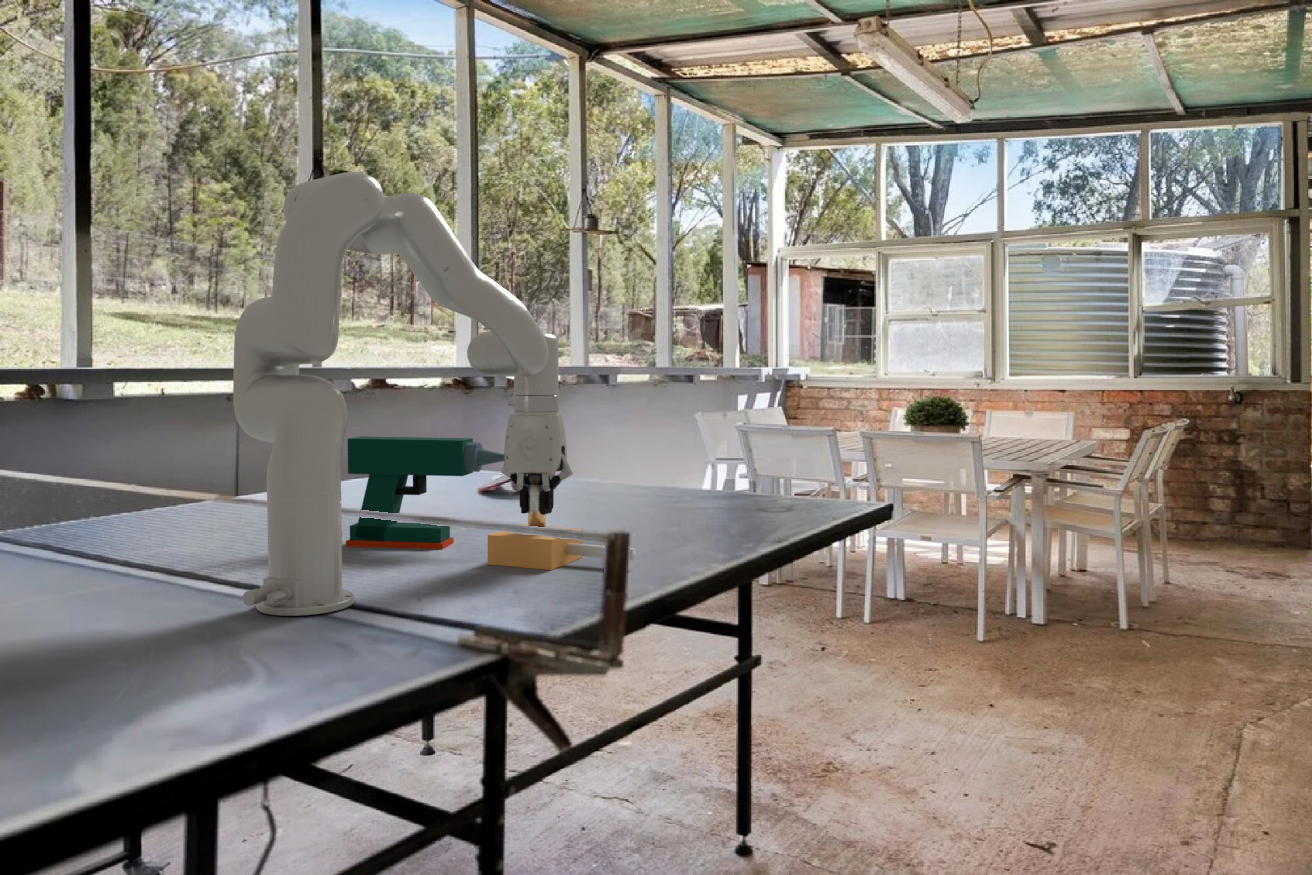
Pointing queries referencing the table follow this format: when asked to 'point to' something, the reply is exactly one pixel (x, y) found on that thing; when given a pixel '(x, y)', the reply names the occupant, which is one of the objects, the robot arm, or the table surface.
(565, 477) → the robot arm
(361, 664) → the table surface
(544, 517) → the silver capped bar
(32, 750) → the table surface
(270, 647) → the table surface
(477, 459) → the power tool
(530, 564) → the chuck block
